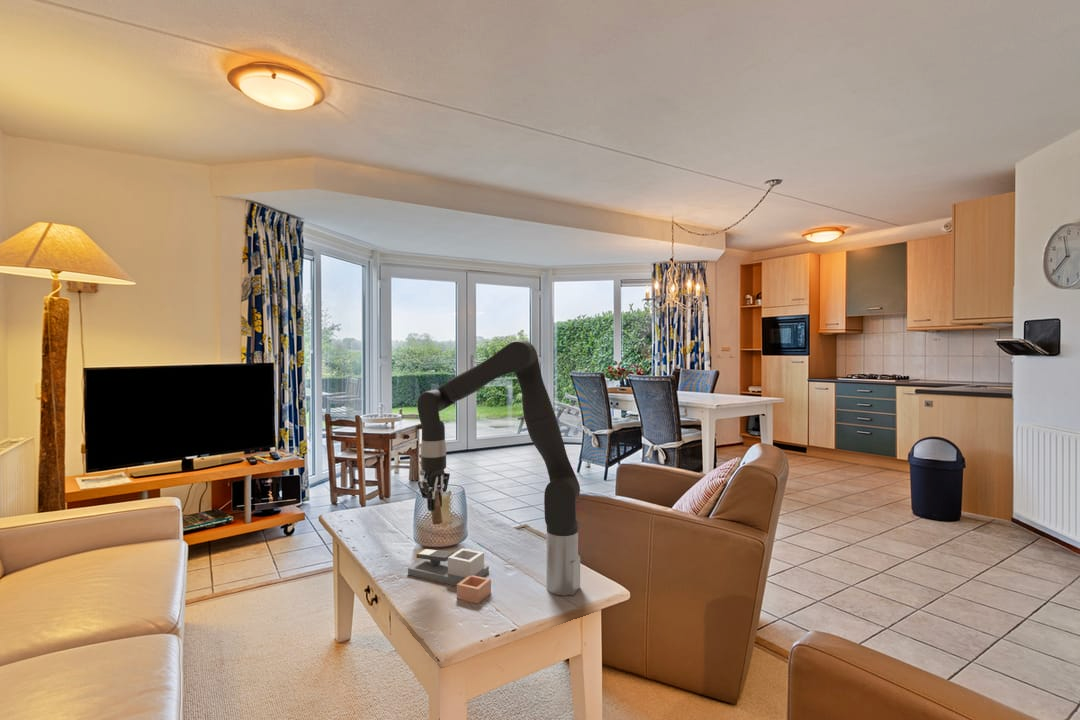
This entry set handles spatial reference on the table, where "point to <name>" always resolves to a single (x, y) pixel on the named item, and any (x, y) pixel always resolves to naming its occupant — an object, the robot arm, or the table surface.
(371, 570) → the table surface
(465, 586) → the holder
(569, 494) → the robot arm
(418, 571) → the grey base slab
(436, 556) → the rocker switch
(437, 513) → the brown rectangular block
